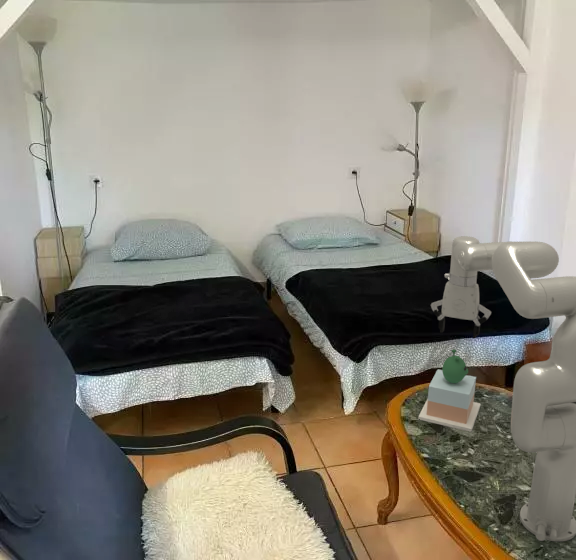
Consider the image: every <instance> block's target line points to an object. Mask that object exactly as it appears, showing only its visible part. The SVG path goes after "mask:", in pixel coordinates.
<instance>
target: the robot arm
mask: <svg viewBox="0 0 576 560" xmlns="http://www.w3.org/2000/svg"><path fill="white" fill-rule="evenodd" d="M451 243H452V244H451V254H450V255H451V256H450V257H451V258H450V269H449V272H448V273H445V274H444V278H445V279H448V281H447V282H446V283H445V286H444V291H443V296H442V299H440V300H437V301H434V302H431V304H430V307H431V310H432V312H433V314H434V316H436V318H437V320H438V327H437V328H438V330H439V333H440V334H443V333H444V332H445V328H446V327H445V325H446V318H447V317H449V318H454V319H458V320H468V321H473V322H474V325H473V330H472V331H473V334H472V338H473V339H476V338H477V336H479V335H480V330H481V325H482V324H484V323H485V322H486V321H487V320H488V319H489V318H490V316H491V315H492V311H491V310H490V309H488V308H486V307H485V306H484V305H482V304H480V287H479V284H478V283H477V279H478V272H482V271H483V272H484V271H492V272H493V274H494V276H495V279H496V280H497V282H498V284H499V285H500V287H501V288H502V290H503V292H504V293H505V295H506V297H507V298H508V301H509V302H510V304H511V305H512V307H513V309H514V310H515V311H516V313H517V314H519V316H522V317H523V318H526V319H531V320H534V319H545V318H555V317H562V316H565V319H564V320H563V322H561V324H560V325H559V327H558V328H557V330H556V331H555V333H554V334H553V337H552V340H551V350H550V356H549V357H548V359H547V360H546V359H545V360H543V361H534V362H533V361H532V362H530V363H526V364H524V365H522V366H521V367H520V368H519V369H518V370H517V372H516V374H515V378H514V381H513V387H512V388H513V390H512V397H513V400H512V399H511V402H512V403H511V414H510V433H511V437H512V440H513V442H514V444H515V446H516V447H517V448H518V449H520V450H521V451H523V452H526V453H536V456H535V461H534V465H533V473H532V479H531V483H530V484H531V485H530V492H529V497H528V502H527V503H525V504H524V505H523V506H521V508H520V511H519V520H520V523H521V524H522V525H523V527H524V528H525V529H526V530H528V532H530V533H531V534H533V536H534V535H535V538H536V540H538V541H541V542H543V541H545V540H547V541H550V542H560V543H562V542H567V541H569V540H571V539H573V538H574V537H575V536H576V518H575V517H574V516H573V513H574V507H575V502H576V276H573V275H572V276H569V275H568V276H567V275H566V276H556V277H555V276H554V277H547V276H549V275H551V274H552V273H554V272H555V270H556V269H557V268H558V265H559V262H560V261H559V260H560V257H559V254H558V252H557V251H558V250H556V249H555V248H554V246H552V245H550V244H548V243H546V242H542V241H499V242H498V241H496V242H494V241H493V242H483V243H482V242H481V243H480V240H479V239H478V238H476V237H474V236H467V235H466V236H465V235H464V236H457V237H455V238H454V239H453V240H452V242H451ZM544 277H546V278H544ZM439 306H441V311H440V310H439V309H438V307H439ZM479 312H481V313H483V314H484V315H482V317H480V316H479Z"/></svg>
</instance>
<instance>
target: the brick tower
mask: <svg viewBox="0 0 576 560" xmlns="http://www.w3.org/2000/svg"><path fill="white" fill-rule="evenodd" d="M476 382H477V376H473V375H466V376H465V377H464V378H463V379H462V381H460V382H458V383H450V382H448V381H447V380H446V379H445V378H444V376H443V371H442V369H437V370H436V371H435V374H434V376H433V378H432V380H431V381H430V383H429V386H428V394H427V399H426V401H425V403H424V405H423V406H422V409H421V411H420V413H419V414H418V420H419V419H420V420H419V421H424V422H428V423H432V424H437V425H441V426H445V427H450V428H453V429H457V430H462V431H464V432H465V431H466V432H470V433H472V431H473V429H474V426H475V423H476V420H477V417H478V414H479V411H480V408H481V404H482V403H480V402H475V393H476V392H475V390H476Z"/></svg>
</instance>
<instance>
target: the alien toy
mask: <svg viewBox="0 0 576 560" xmlns="http://www.w3.org/2000/svg"><path fill="white" fill-rule="evenodd" d="M456 352H457V350H456V349H455V348H454V349H451V353H452V355H451V356H448V357H447V358H446V359H445V360H444V362H443V364H442V369H441V370H442V371H443V376H444V378H445V379H446V380H447V381H448V382H450V383H458V382H460V381H462V379H463V378H464V377H465V376H466V375H467V374H469V369H468V367H467V365H466V362H465V360H464V359H463V358H462V357H461V356H460V355H456V354H455V353H456Z"/></svg>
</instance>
